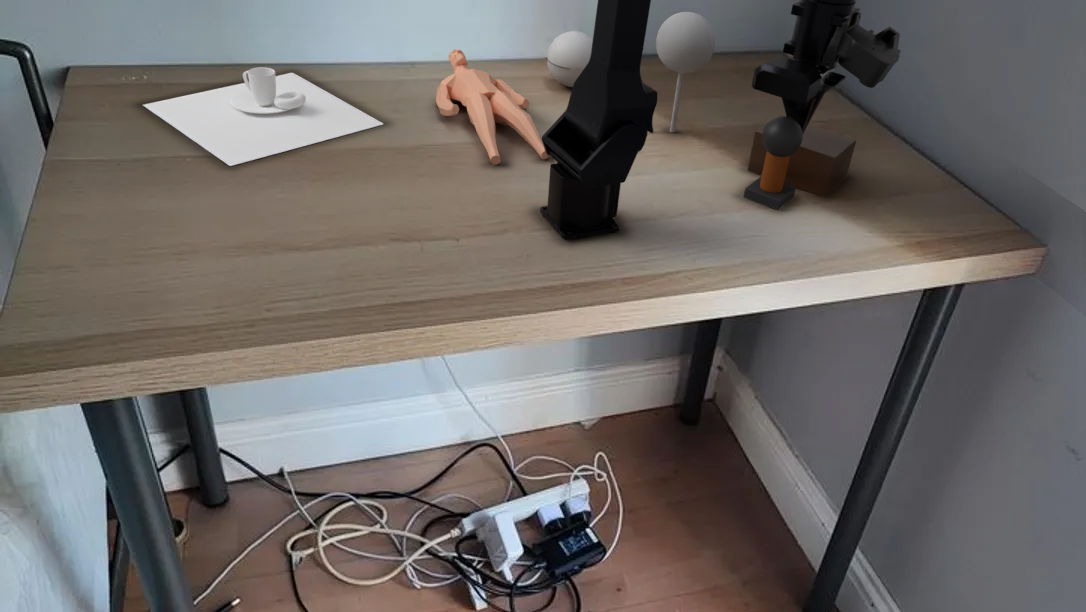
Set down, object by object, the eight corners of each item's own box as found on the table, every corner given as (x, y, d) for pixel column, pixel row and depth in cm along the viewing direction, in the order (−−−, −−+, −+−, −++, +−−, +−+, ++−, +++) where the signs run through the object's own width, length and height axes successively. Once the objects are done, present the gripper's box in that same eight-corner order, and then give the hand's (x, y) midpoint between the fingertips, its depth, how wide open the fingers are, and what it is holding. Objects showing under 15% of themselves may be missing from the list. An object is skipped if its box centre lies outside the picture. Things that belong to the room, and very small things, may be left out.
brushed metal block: (824, 197, 110) (835, 157, 107) (747, 170, 114) (755, 131, 111) (846, 177, 115) (856, 139, 112) (771, 152, 118) (779, 114, 116)
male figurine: (477, 140, 105) (414, 45, 121) (475, 179, 108) (414, 81, 125) (566, 132, 109) (493, 41, 126) (562, 169, 112) (491, 76, 129)
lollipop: (700, 124, 124) (719, 8, 115) (699, 146, 118) (720, 25, 109) (646, 117, 124) (661, 0, 115) (643, 139, 118) (658, 18, 109)
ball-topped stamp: (779, 221, 108) (773, 174, 100) (745, 208, 110) (736, 161, 101) (812, 165, 110) (808, 115, 102) (778, 153, 112) (771, 103, 103)
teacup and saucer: (316, 110, 116) (314, 77, 113) (257, 124, 111) (253, 91, 108) (277, 87, 120) (274, 55, 118) (218, 100, 115) (213, 67, 113)
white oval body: (535, 78, 131) (538, 25, 127) (581, 73, 135) (586, 21, 130) (569, 105, 124) (574, 50, 120) (617, 99, 128) (623, 46, 124)
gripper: (871, 36, 89) (831, 185, 98) (929, -2, 103) (890, 133, 112) (764, 7, 94) (736, 152, 103) (834, -26, 107) (803, 106, 116)
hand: (796, 135), depth 108 cm, fingers closed
